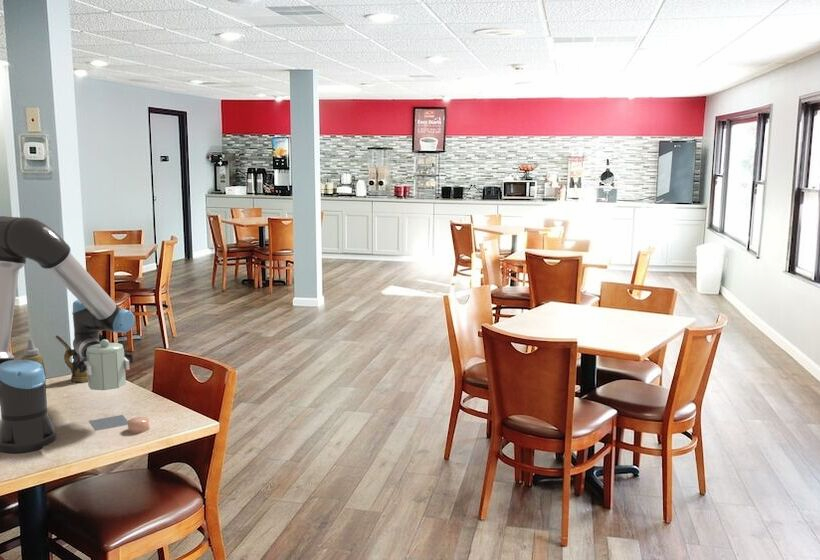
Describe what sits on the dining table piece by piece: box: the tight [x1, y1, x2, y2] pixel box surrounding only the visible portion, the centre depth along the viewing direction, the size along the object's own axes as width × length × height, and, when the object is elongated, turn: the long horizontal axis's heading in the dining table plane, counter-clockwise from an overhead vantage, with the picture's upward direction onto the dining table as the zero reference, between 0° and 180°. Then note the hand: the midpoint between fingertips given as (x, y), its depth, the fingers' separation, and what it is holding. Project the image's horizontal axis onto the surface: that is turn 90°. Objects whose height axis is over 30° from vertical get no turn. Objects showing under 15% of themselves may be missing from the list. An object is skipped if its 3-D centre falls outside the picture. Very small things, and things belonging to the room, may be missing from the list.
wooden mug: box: [55, 335, 88, 383], centre depth 269 cm, size 9×14×18 cm, turn 131°
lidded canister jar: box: [86, 338, 127, 391], centre depth 222 cm, size 10×10×14 cm
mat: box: [88, 414, 128, 431], centre depth 225 cm, size 10×10×1 cm
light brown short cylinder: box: [127, 416, 150, 434], centre depth 219 cm, size 6×6×4 cm
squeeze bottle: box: [21, 338, 47, 382], centre depth 258 cm, size 8×8×18 cm
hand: (109, 367), depth 218 cm, fingers closed on lidded canister jar, 10 cm apart
